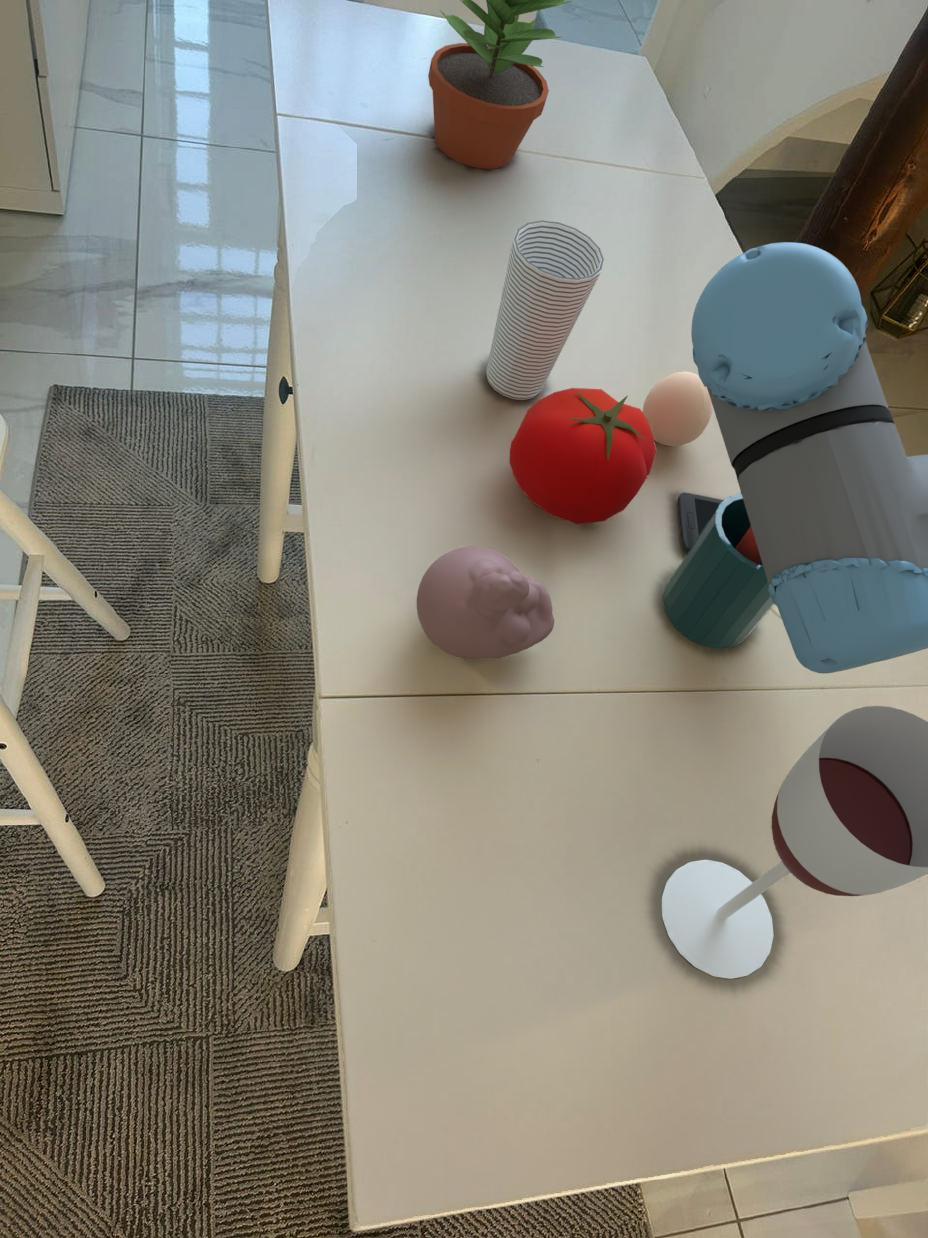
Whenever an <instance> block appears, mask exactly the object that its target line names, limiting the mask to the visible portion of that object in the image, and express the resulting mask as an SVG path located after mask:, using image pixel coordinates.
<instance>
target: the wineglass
mask: <svg viewBox="0 0 928 1238" xmlns="http://www.w3.org/2000/svg"><path fill="white" fill-rule="evenodd" d="M770 827H771V835H772V841H773V845H774V849H775V850H776V853H777V855H778V857H779V859H780V862H779V863H777V864H776V865H774V866H773V867H772V868H771V869H769V870H768V871H766V872H765V873H764V874H763V875H761V876H760V877H758V878H756V880H754V881H751V880H750V879H749V878H748V877H747V876H745V874H743V873H742V872H741V871H740V870H738V869H736V868H735V867H733V866H730V865H729V864H726V863H724V862H722V861H716V860H711V859H699V860H694V861H688V862H687V863H686V864H684V865H682V866H680V867H678V868H677V869H675V871H674V872H673V873H672V874H671V876H669V878H668V879H667V881H666V882H665V886H664V889H663V893H662V895H661V917H662V921H663V924H664V927H665V930H666V933H667V936H668V937H669V939H670V941H671V942H672V944H673V945H674V947H675V949H676V950H677V951H678V953H679V954H680V955H681V956H682V957H683V958H684V959H686V961H688V962H689V963H690V964H691V966H693V967H694V968H696V969H698V970H700V971H702V972H703V973H706V974H708V975H710V976H711V977H715V978H722V979H730V980H732V979H737V978H742V977H748V976H749V975H751V974H752V973H754V972H755V971H757V970H758V969H760V968H761V967H762V966H763V964H764V963H765V961H766V960H767V959H768V957H769V955H770V953H771V950H772V947H773V946H772V945H773V940H774V936H775V935H774V927H773V917H772V913H771V911H770V909H769V907H768V904H767V901H766V899H765V898H764V896H763V895H762V894H763V893H765V892H766V891H767V890H768V889H770V888H772V887H773V886H774V885H776V884H777V883H778V882H780V881H781V880H782V879H784V878H786V877H787V876H788V875H790V874H791V875H792V876H793V877H794V878H796V879H797V880H798V881H799V882H801V883H802V884H804V885H805V886H807V887H809V888H811V889H812V890H815V891H818V892H821V893H824V894H826V895H831V896H837V897H860V896H861V897H862V896H870V895H875V894H880V893H884V892H887V891H890V890H893V889H896V888H899V887H902V886H904V885H907V884H909V883H911V882H914V881H916V880H918V879H920V878H922V877H925V876H927V875H928V721H927V720H925V719H924V718H922V717H920V716H917V715H916V714H914V713H912V712H909V711H905V710H904V709H901V708H896V707H893V706H892V707H891V706H884V705H868V706H861V707H858V708H853V709H852V710H850V711H847V712H845V713H843V715H841V716H839V717H838V718H837V719H836V720H835V721H833V722H832V723H831V725H829V727H828V728H826V729H825V730H824V731H823V733H822V734H821V735H820V736H818V737H817V739H816V740H815V741H814V742H813V743H811V745H810V746H809V747H808V748H807V749H806V750H805V752H803V754H802V755H801V756H800V757H799V758H798V760H797V761H796V762H795V763H794V765H793V766H792V767H791V768H790V769H789V771H788V773H787V775H786V776H785V778H784V780H783V781H782V783H781V785H780V786H779V789H778V792H777V795H776V798H775V800H774V803H773V808H772V814H771V826H770Z"/></svg>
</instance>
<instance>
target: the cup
mask: <svg viewBox="0 0 928 1238" xmlns="http://www.w3.org/2000/svg"><path fill="white" fill-rule="evenodd" d="M510 248H511V249H510V253H509V259H508V263H507V267H506V273H505V278H504V282H503V286H502V287H503V288H502V292H501V297H500V302H499V307H498V310H497V311H498V312H497V315H496V320H495V321H496V322H495V327H494V331H493V337H492V341H491V342H492V343H491V346H490V351H489V356H488V360H487V361H488V362H487V365H486V370H485V375H486V378H487V382H488V383H489V385H490V386H491V388H492V389H493V390H494V391H496V392H497V393H499V394H500V395H502V396H503V397H506V398H509V399H512V400H518V401H526V400H531V399H533V398H535V397H536V396H537V395H539V394H540V393H541V392H542V390H543V388H544V387H545V385H546V382H547V380H548V378H549V377H550V374H551V373H552V371H553V368H554V367H555V364H556V363H557V361H558V359H559V357H560V354H561V353H562V351H563V348H564V347H565V345H566V343H567V341H568V339H569V337H570V335H571V333H572V331H573V329H574V327H575V325H576V323H577V321H578V319H579V317H580V315H581V313H582V311H583V309H584V307H585V305H586V303H587V302H588V299H589V297H590V295H591V293H592V291H593V290H594V287H595V285H596V283H597V281H598V279H599V277H600V275H601V273H602V271H603V267H604V264H605V259H604V256H603V252H602V249H601V248H600V247H599V245H597V244H596V242H595V241H594V240H593V239H592V238H591V237H590V236H588V235H587V234H585V233H584V232H582V231H580V230H579V229H577V227H573V226H570V225H567V224H565V223H561V222H558V221H550V220H537V221H530V222H526V223H525V224H524V225H521V226H520V227H519V228H516V231H515V234H514V236H513V239H512V243H511V247H510Z"/></svg>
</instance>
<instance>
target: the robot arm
mask: <svg viewBox="0 0 928 1238" xmlns="http://www.w3.org/2000/svg"><path fill="white" fill-rule="evenodd" d="M868 320H869V319H868V316H867V312H866V309H865V307H864V304H863V302H862V296H861V293H860V289H859V286H858V284H857V282H856V280H855V278H854V277H853V275H852V273H851V272H850V270H849V269H848V267H846V266H845V264H844V263H843V262H842V261H841V260H839V259H838V258H837V257H836V256H834V255H833V254H831V253H830V252H827V251H826V250H824V249H822V248H820V247H817V246H814V245H811V244H808V243H803V242H788V241H781V242H773V243H772V242H771V243H767V244H763V245H760V246H757V247H754V248H752V247H751V248H750V249H748V250H746V251H745V252H743V253H741V254H739V255H737V256H736V257H734V258H733V259H731V260H729V261H728V262H727V263H726V264H724V265H723V266H722V267H720V269H719V270H718V271H717V272H716V273H715V274H714V275H713V276H712V277H711V278H710V279H709V281H708V282H707V284H706V285H705V287H704V288H703V290H702V292H701V294H700V295H699V298H698V300H697V302H696V304H695V307H694V311H693V314H692V318H691V330H690V331H691V333H690V334H691V343H692V359H693V362H694V364H695V365H696V368H697V372H698V373H697V374H698V376H699V377H700V379H701V381H702V383H703V385H704V387H707V390H708V393H709V396H710V399H711V402H712V409H713V411H714V414H715V417H716V420H717V425H718V427H719V431H720V433H721V436H722V440H723V442H724V446H725V449H726V452H727V456H728V459H729V462H730V465H731V467H732V468H733V470H734V472H735V476H736V480H737V483H738V487H739V490H740V494H742V497H743V500H744V504H745V507H746V511H747V514H748V517H749V521H750V524H751V527H752V531H753V534H754V537H755V541H756V544H757V547H758V551H759V554H760V557H761V561H762V564H763V567H764V571H765V574H766V577H767V581H768V584H769V588H768V591H769V593H770V597H771V599H772V602H773V603H774V604H775V605H774V606H776V608H777V610H778V613H779V615H780V618H781V620H782V624H783V626H784V629H785V631H786V634H787V637H788V639H789V642H790V644H791V648H792V650H793V653H794V655H795V658H796V659H797V661H798V662H799V664H800V665H801V666H802V667H803V668H805V669H807V670H808V671H811V672H812V673H813V672H814V673H817V674H825V675H826V674H833V673H838V672H843V671H849V670H852V669H856V668H859V667H863V666H868V665H871V664H875V663H879V662H883V661H889V660H892V659H895V658H899V657H903V656H906V655H910V654H914V653H917V652H921V651H923V650H927V649H928V453H927V454H918V455H911V456H907V453H906V450H905V448H904V445H903V443H902V439H901V437H900V434H899V432H898V428H897V426H896V424H895V420H894V418H893V415H892V413H891V410H890V409H889V405H888V402H887V399H886V397H885V394H884V391H883V388H882V385H881V382H880V379H879V376H878V373H877V371H876V367H875V365H874V362H873V360H872V356H871V354H870V353H871V352H870V350H869V348H868V344H867V335H866V329H867V328H868V327H869V326H868V325H869V321H868Z"/></svg>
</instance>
